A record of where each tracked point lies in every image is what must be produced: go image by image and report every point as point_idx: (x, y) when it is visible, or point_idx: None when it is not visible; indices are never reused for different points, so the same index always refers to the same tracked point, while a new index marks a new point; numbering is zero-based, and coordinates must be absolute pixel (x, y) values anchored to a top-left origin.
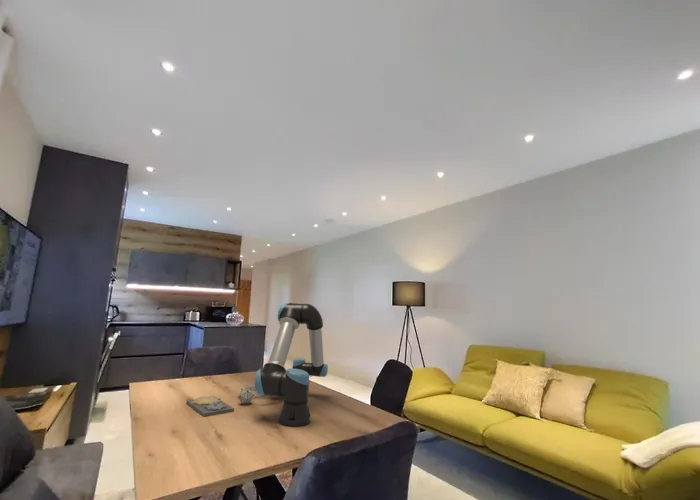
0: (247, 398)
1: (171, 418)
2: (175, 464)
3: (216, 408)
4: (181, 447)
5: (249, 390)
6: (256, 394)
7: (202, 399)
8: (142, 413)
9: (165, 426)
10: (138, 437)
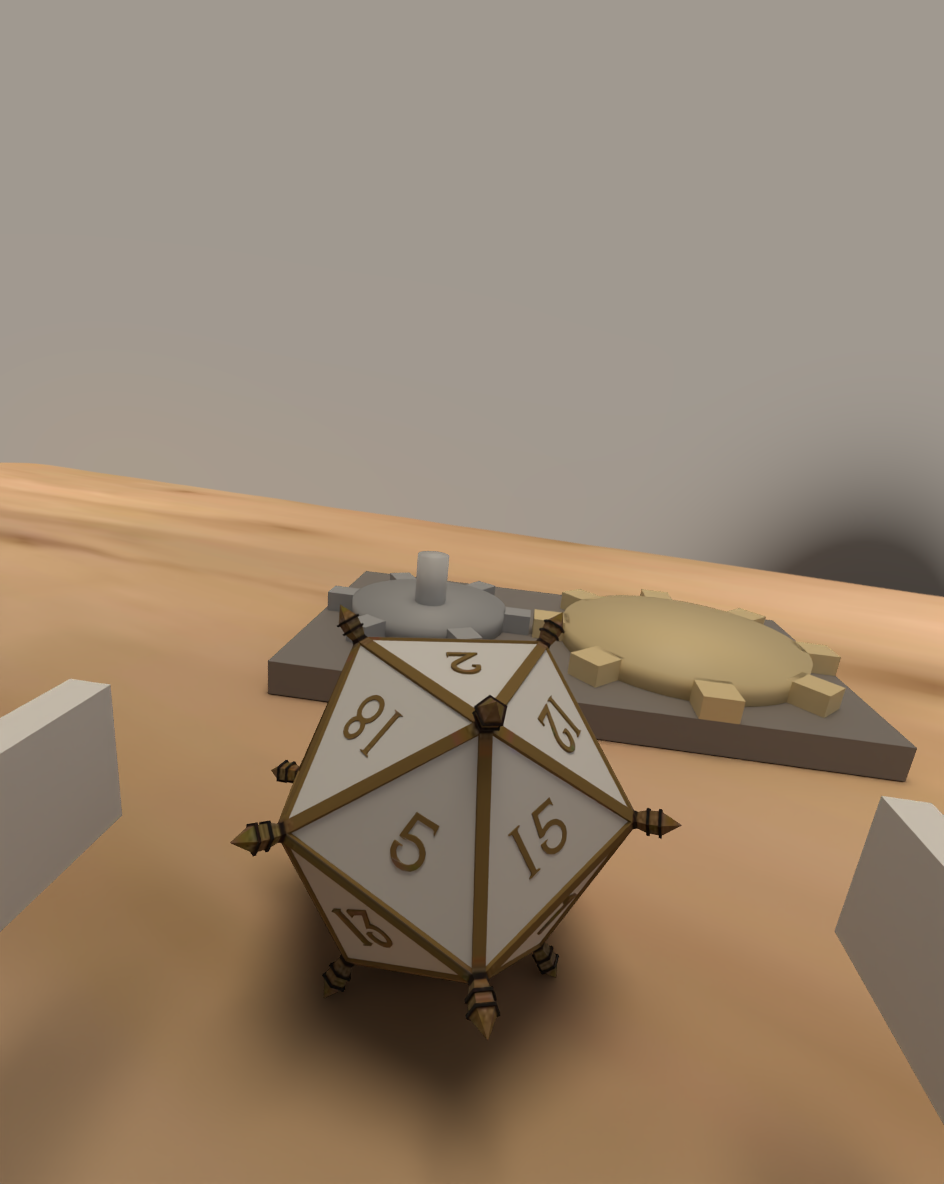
0: (305, 754)
1: (473, 560)
2: (49, 484)
3: (363, 589)
4: (126, 504)
5: (411, 694)
6: (97, 750)
7: (709, 628)
8: (630, 556)
9: (381, 536)
10: (346, 509)
